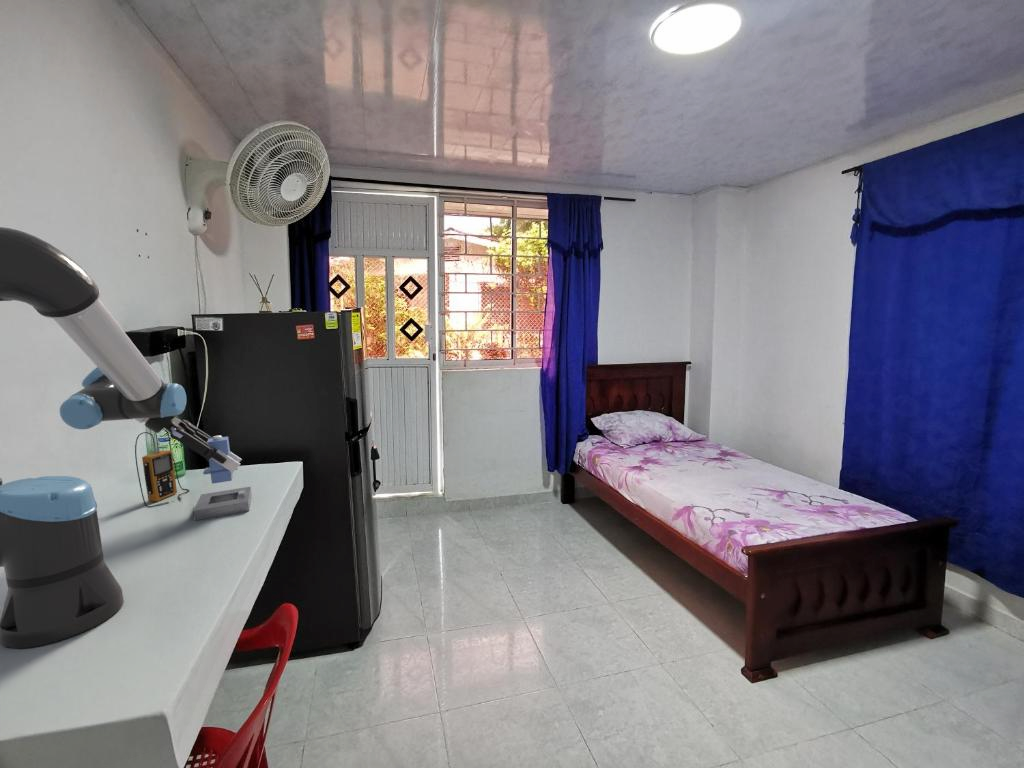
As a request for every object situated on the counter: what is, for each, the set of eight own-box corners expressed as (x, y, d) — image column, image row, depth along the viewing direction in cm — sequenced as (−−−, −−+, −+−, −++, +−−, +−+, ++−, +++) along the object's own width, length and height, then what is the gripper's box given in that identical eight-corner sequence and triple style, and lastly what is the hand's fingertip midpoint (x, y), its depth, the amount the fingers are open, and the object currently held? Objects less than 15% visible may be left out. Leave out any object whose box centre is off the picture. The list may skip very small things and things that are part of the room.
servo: (238, 479, 131) (233, 435, 130) (204, 484, 128) (199, 440, 126) (239, 475, 135) (234, 432, 134) (207, 480, 132) (201, 436, 131)
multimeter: (168, 507, 133) (158, 435, 131) (136, 507, 135) (125, 435, 133) (209, 489, 148) (201, 423, 145) (179, 489, 149) (171, 424, 147)
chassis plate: (249, 510, 128) (247, 498, 128) (194, 520, 123) (193, 507, 123) (251, 495, 141) (250, 483, 140) (202, 503, 136) (200, 491, 135)
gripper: (151, 418, 131) (230, 468, 140) (134, 430, 115) (224, 486, 124) (172, 396, 132) (249, 447, 141) (158, 405, 117) (245, 462, 126)
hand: (237, 465), depth 133 cm, fingers closed on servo, 4 cm apart
